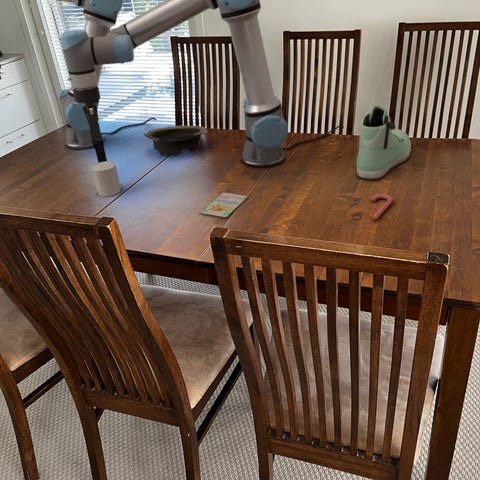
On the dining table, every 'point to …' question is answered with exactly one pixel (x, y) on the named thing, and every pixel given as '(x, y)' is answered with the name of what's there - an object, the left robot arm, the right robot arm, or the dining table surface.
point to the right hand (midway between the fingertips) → (100, 154)
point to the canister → (106, 178)
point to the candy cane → (385, 206)
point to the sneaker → (380, 145)
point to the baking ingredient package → (224, 204)
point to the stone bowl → (176, 139)
